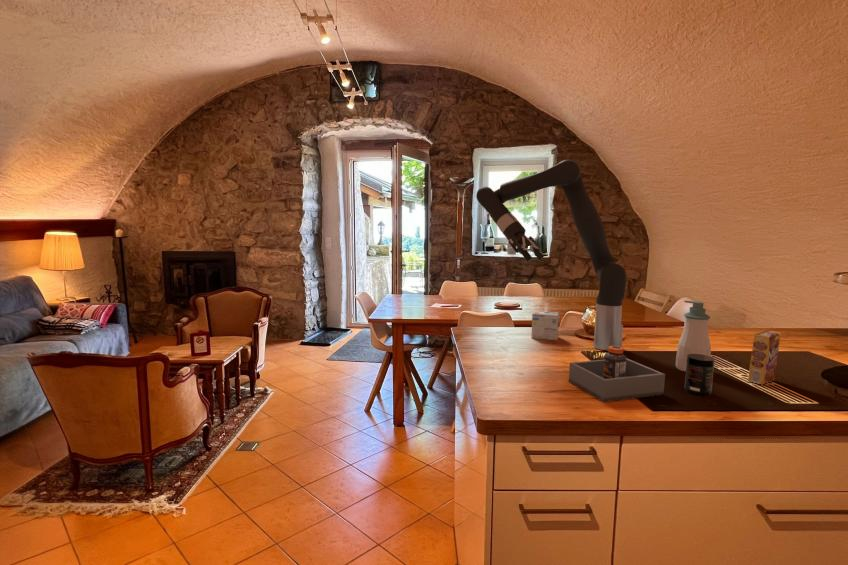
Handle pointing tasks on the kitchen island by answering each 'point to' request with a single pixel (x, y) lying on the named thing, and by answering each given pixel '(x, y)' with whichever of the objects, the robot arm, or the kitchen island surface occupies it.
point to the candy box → (764, 357)
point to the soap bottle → (693, 335)
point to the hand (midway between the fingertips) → (536, 259)
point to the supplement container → (699, 374)
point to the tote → (616, 381)
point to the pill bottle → (614, 363)
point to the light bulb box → (545, 325)
